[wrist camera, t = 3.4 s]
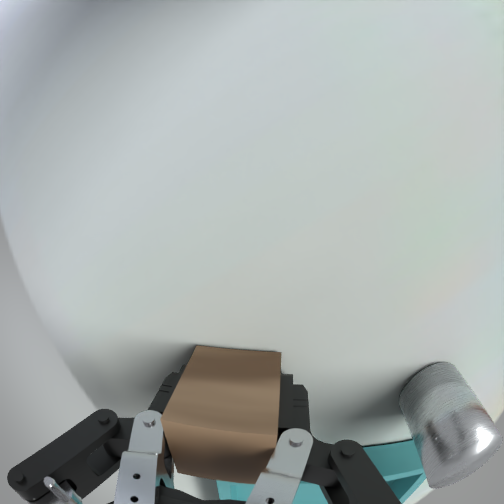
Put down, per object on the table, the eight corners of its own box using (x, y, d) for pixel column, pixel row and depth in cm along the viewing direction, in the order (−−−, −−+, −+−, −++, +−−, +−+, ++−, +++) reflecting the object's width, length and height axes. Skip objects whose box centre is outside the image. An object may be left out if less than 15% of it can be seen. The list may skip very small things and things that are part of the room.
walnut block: (196, 345, 13) (160, 419, 8) (281, 352, 13) (277, 434, 8) (203, 402, 14) (177, 472, 9) (275, 409, 14) (269, 485, 9)
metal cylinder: (411, 365, 12) (454, 449, 6) (466, 358, 12) (516, 425, 6) (390, 417, 13) (415, 495, 7) (443, 408, 13) (476, 474, 7)
